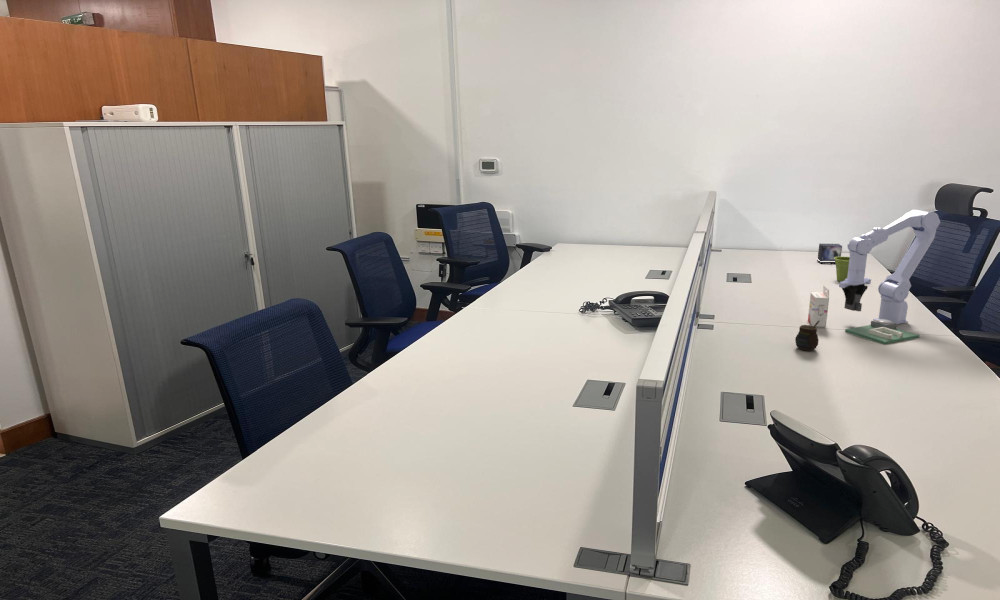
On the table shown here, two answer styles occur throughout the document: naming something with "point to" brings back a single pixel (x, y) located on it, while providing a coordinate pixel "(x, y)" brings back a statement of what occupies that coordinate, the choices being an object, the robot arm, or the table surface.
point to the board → (882, 332)
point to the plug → (854, 303)
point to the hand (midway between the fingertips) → (852, 303)
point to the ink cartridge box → (818, 308)
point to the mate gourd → (807, 337)
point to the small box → (829, 252)
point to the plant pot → (842, 267)
